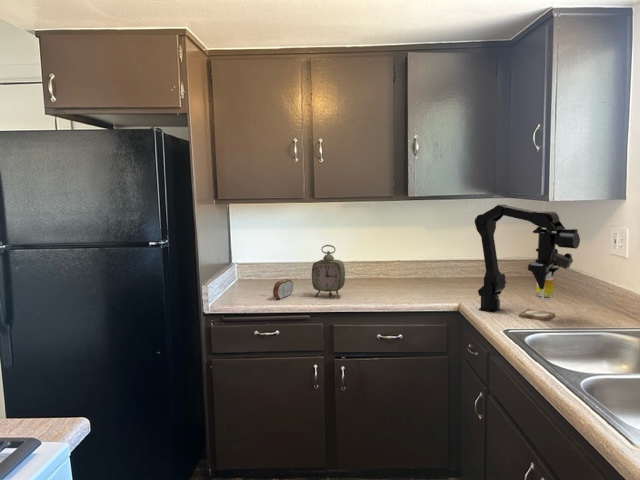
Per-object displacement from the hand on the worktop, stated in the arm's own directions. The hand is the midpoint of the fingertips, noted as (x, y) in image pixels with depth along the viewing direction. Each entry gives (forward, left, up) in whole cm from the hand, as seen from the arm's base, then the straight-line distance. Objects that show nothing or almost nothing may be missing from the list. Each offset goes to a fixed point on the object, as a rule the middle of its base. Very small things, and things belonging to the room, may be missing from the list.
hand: (544, 287), depth 168 cm
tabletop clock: (-90, -21, -13) cm, 93 cm away
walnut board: (-4, +5, -13) cm, 14 cm away
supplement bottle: (0, 0, -4) cm, 4 cm away
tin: (-106, -36, -13) cm, 113 cm away
